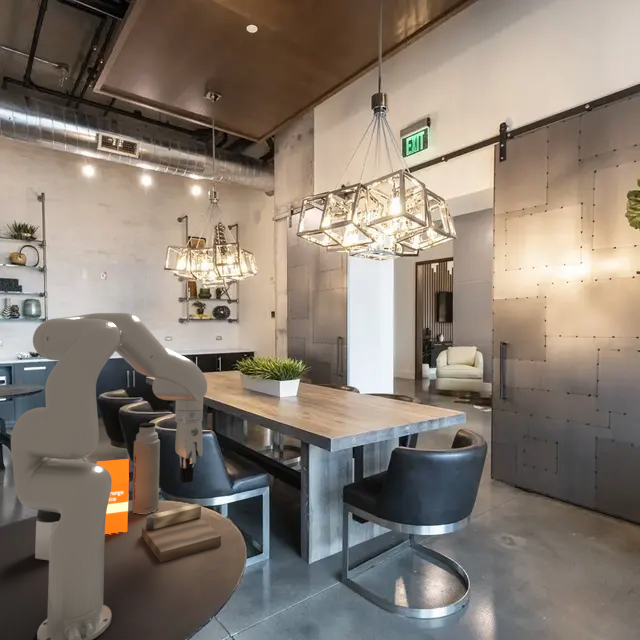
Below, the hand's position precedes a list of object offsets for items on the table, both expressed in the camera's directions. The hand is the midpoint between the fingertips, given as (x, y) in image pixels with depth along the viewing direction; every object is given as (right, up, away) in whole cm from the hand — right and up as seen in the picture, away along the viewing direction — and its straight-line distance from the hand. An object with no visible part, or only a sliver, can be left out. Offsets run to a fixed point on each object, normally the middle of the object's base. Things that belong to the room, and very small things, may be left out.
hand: (186, 481), depth 126 cm
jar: (-31, -15, -10) cm, 36 cm away
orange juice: (-23, -16, +5) cm, 29 cm away
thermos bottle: (-19, -17, +19) cm, 32 cm away
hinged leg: (-5, -13, +4) cm, 14 cm away
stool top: (-1, -16, -2) cm, 16 cm away
